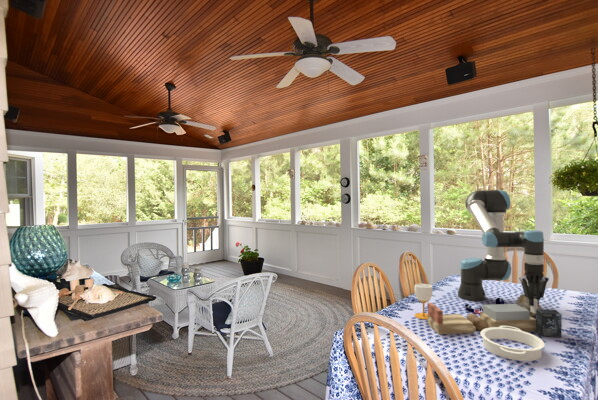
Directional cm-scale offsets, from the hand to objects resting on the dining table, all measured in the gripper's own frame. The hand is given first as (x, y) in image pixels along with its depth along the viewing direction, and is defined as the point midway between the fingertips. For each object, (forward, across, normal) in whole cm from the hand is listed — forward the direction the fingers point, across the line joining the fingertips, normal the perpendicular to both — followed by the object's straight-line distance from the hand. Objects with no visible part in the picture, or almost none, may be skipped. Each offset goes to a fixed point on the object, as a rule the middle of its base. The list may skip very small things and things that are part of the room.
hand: (534, 312), depth 162 cm
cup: (+7, -47, +16) cm, 50 cm away
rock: (+7, +7, +14) cm, 17 cm away
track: (+6, -26, 0) cm, 26 cm away
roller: (+6, -29, 0) cm, 29 cm away
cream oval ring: (+7, -26, -22) cm, 35 cm away
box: (+7, -1, -10) cm, 12 cm away
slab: (+1, -14, 0) cm, 14 cm away
